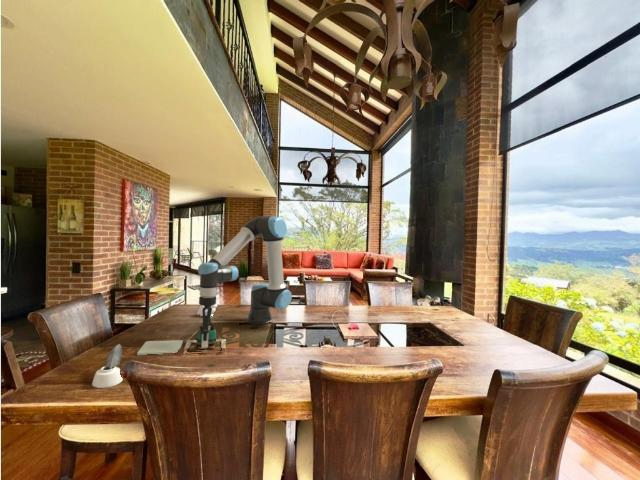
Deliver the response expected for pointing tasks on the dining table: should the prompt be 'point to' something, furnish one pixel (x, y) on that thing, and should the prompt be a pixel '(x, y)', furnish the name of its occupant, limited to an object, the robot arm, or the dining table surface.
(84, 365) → the dining table surface
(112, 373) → the inkwell
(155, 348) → the pad
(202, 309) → the rabbit
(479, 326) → the dining table surface
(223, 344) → the frame
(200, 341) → the binoculars
